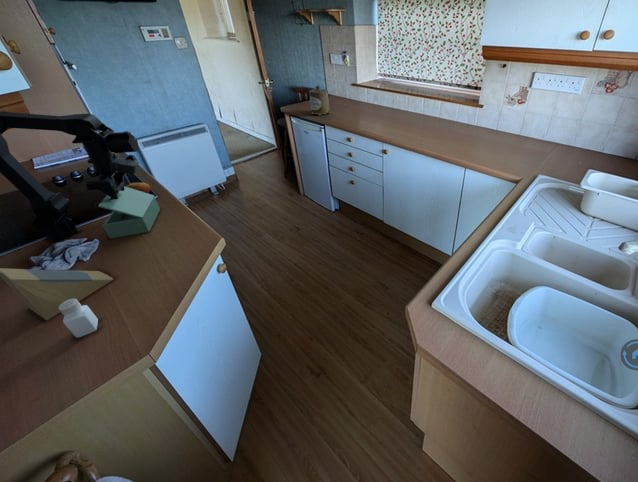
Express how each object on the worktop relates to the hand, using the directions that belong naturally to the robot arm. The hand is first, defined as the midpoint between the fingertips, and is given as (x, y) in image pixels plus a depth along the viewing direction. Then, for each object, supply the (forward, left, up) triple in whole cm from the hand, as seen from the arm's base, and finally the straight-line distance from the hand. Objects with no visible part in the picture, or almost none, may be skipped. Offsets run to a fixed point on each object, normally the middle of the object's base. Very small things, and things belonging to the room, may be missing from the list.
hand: (119, 194), depth 103 cm
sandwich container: (-28, -18, -13) cm, 36 cm away
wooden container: (+158, +11, -13) cm, 159 cm away
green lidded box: (+1, -1, -13) cm, 13 cm away
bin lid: (+1, -1, -3) cm, 3 cm away
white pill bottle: (-34, -34, -13) cm, 50 cm away
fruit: (+14, +16, -13) cm, 25 cm away
